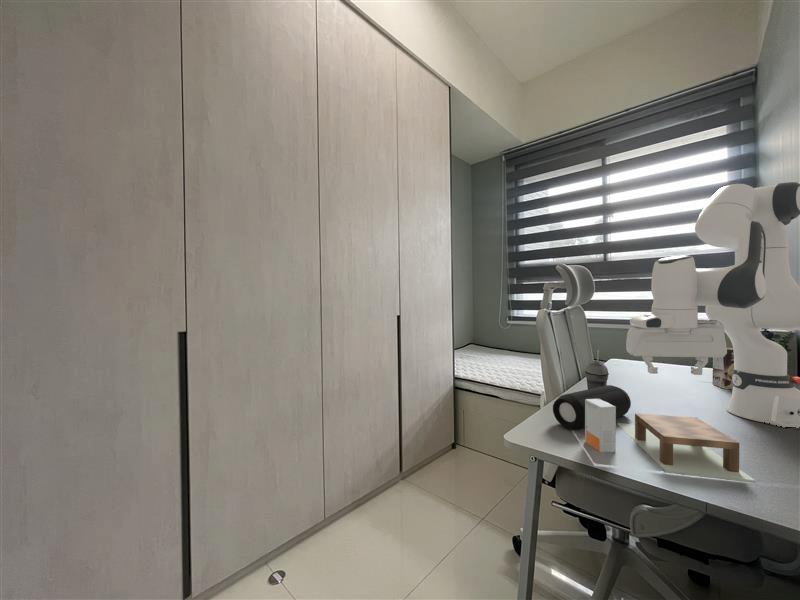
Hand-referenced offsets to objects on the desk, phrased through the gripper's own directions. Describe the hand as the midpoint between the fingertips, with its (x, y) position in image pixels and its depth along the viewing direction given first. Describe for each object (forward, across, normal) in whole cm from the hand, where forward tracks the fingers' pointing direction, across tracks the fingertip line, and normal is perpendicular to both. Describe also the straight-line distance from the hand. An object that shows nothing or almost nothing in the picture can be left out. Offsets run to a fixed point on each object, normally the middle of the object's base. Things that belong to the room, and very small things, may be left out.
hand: (674, 373), depth 80 cm
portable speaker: (+20, +15, -14) cm, 28 cm away
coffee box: (+21, -51, -64) cm, 84 cm away
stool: (+15, 0, -3) cm, 16 cm away
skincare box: (+19, +18, +4) cm, 27 cm away
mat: (+19, 0, 0) cm, 19 cm away
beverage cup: (+20, +9, -30) cm, 37 cm away
